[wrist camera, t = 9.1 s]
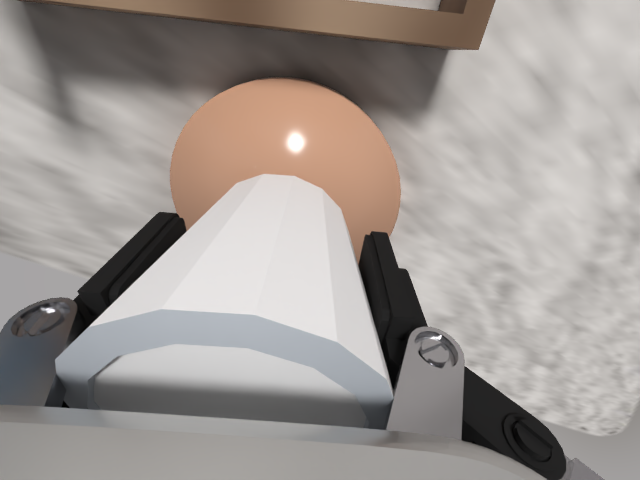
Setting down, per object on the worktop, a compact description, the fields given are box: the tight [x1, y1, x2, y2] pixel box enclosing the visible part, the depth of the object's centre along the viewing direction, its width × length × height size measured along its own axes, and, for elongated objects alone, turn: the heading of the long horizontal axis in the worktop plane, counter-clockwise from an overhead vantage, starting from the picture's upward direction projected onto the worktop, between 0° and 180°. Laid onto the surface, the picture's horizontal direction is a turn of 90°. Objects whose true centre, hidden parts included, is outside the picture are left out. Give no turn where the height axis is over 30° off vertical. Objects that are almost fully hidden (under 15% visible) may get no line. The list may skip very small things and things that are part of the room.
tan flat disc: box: [170, 77, 401, 264], centre depth 14 cm, size 11×11×1 cm
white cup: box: [55, 174, 394, 430], centre depth 9 cm, size 7×7×7 cm
